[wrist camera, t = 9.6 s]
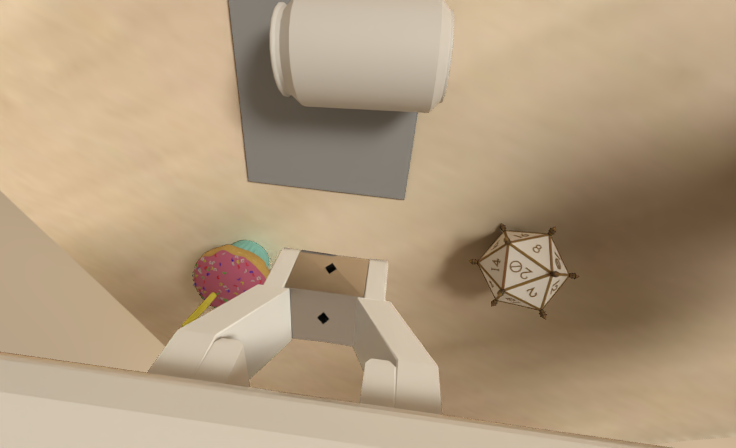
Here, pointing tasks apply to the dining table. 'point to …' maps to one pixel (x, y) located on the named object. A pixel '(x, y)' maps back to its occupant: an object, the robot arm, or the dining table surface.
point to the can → (363, 53)
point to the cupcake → (228, 273)
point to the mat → (312, 125)
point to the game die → (524, 269)
